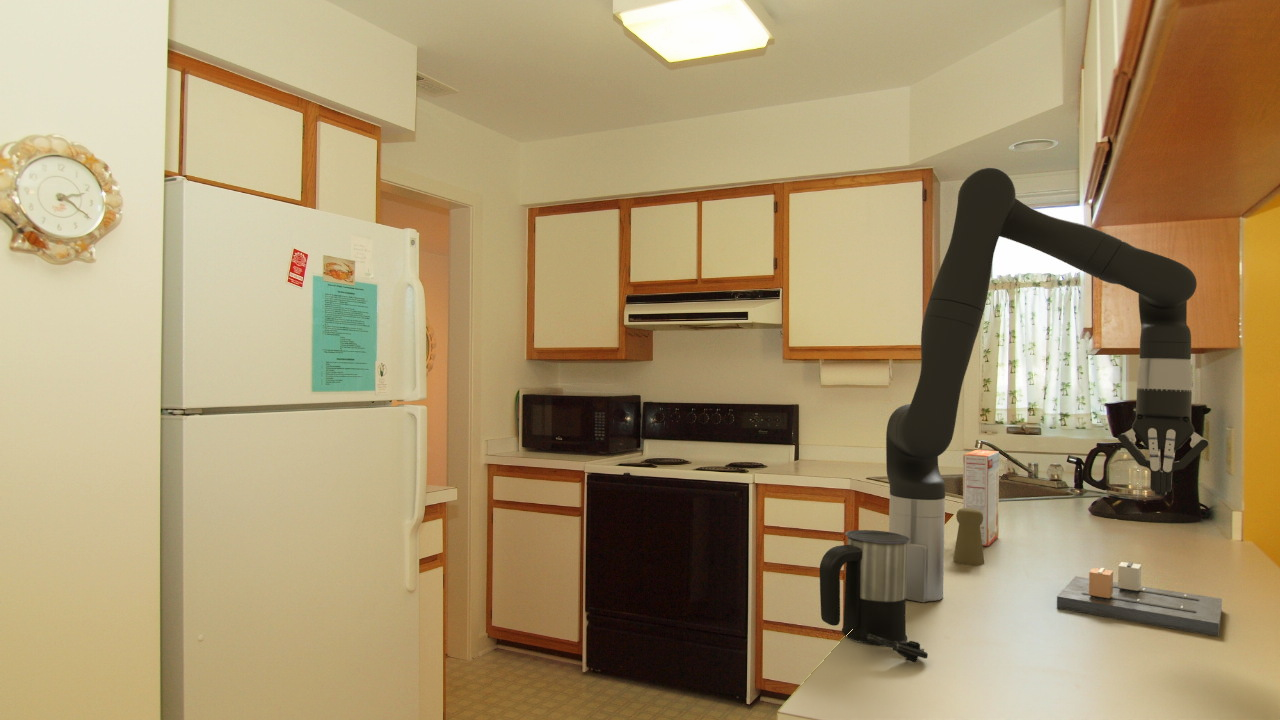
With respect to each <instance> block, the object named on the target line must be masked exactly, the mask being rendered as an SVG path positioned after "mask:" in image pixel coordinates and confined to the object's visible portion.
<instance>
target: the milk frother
mask: <svg viewBox="0 0 1280 720" xmlns="http://www.w3.org/2000/svg"><path fill="white" fill-rule="evenodd" d="M844 534H845V536H846V537H847V544H844V545H835V546H833V547H831V548H829V549H828V550H827V551H826V552H825V554H824V555H823V556H822V558H821V561H820V564H819V596H820V598H819V599H820V616H821V620H822V622H824V623H826V624H828V625H829V626H834V627H835V626H838V625H839V624H840V622H841V596H840V595H841V580H840V579H841V578H840V577H841V570H842V568H843V566H844V565H845V581H844V588H845V589H844V606H843V626H842V628H841V633H842V635H843V636H845V637H846V635H847V634H848V633H849V632H850V631H851V630H852V629H853V630H852V631H851V632H850V633H849V634H848V635H847V637H846V638H848V639H850V640H852V641H854V642H857V643H861V644H866V645H871V646H882V647H887V648H891V650H892V651H895V652H896V653H898V655H900V656H901V657H904V658H905V660H906V661H909V662H913V663H917V661H918V658H922V659H928V658H929V657H928V655H929V654H928V652H927V651H925V648H921V644H920V642H917V641H914V640H909V641H908V636H907V630H906V629H907V627H906V625H907V624H906V623H907V622H906V621H907V620H906V619H907V618H906V615H907V614H906V605H907V603H906V602H907V599H906V575H907V543H908V542H909V540H910V539H909V538H908V537H907V536H904V535H900V534H897V533H892V532H889V531H887V530H885V531H884V530H874V529H872V530H871V529H870V530H869V529H857V530H854V529H853V530H849V531H846V532H845V533H844Z"/></svg>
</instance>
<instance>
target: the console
mask: <svg viewBox="0 0 1280 720" xmlns="http://www.w3.org/2000/svg"><path fill="white" fill-rule="evenodd" d="M1222 605H1223V599H1222V598H1220V597H1212V596H1207V595H1201V594H1200V595H1199V594H1195V593H1187V592H1181V591H1174V590H1169V589H1168V590H1166V589H1162V588H1161V589H1160V588H1155V587H1154V588H1153V587H1148V586H1142V585H1141V587H1140V589H1139V591H1136V590H1129V589H1123V588H1118V582H1115V581H1113V594H1112V595H1111V597H1110V598H1105V597H1098V596H1092V595H1089V577H1083V576H1077V575H1076V576H1074V577H1073V578H1072V580H1071V581H1070V582H1069V583H1067V585H1066V586H1065V587H1064V588H1063V589H1062V590H1061V591H1060V593H1058V595H1057V596H1056V609H1059V610H1065V611H1071V612H1076V613H1082V614H1087V615H1094V616H1099V617H1103V618H1110V619H1116V620H1121V621H1127V622H1134V623H1137V624H1138V623H1139V624H1144V625H1149V626H1155V627H1161V628H1165V629H1166V628H1167V629H1173V630H1178V631H1183V632H1189V633H1195V634H1201V635H1206V636H1212V637H1218V638H1219V636H1220V628H1221V619H1222V612H1223V607H1222Z"/></svg>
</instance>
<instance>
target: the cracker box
mask: <svg viewBox="0 0 1280 720" xmlns="http://www.w3.org/2000/svg"><path fill="white" fill-rule="evenodd" d="M962 456H963V458H962V460H963V462H962V463H963V464H962V465H963V467H962V468H963V469H962V470H963V471H962V472H963V473H962V475H963V476H962V477H963V481H962V483H963V485H962V486H963V487H962V488H963V489H962V490H963V491H962V493H963V498H962V499H963V500H962V503H963V504H962V508H973V509H977V510H980V511H981V512H982V514H983V522H982V524H981V525H980V530H981V538H982V547H990V545H992V543H994V542H995V540H996V539H997V538H998V537H999V532H1000V531H999V529H1000V528H999V520H1000V519H999V517H1000V516H999V515H1000V514H999V513H1000V510H999V508H1000V507H999V505H1000V503H999V502H1000V501H999V495H1000V494H999V493H1000V492H999V490H1000V489H999V487H1000V483H999V482H1000V480H999V479H1000V477H999V476H1000V451H998V450H986V449H975V450H972V451H969V452H967V453H964V454H963V455H962Z"/></svg>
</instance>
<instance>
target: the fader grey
mask: <svg viewBox="0 0 1280 720" xmlns="http://www.w3.org/2000/svg"><path fill="white" fill-rule="evenodd" d="M1117 568H1118V577H1117V578H1118V579H1117V580H1118V581H1117V583H1118V588H1123V589H1129V590H1136V591H1139V589H1140V587H1141V586H1142V564H1140V563H1134V562H1133V561H1129V562H1125V561H1121V562H1120V563H1119V565H1118V567H1117Z"/></svg>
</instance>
